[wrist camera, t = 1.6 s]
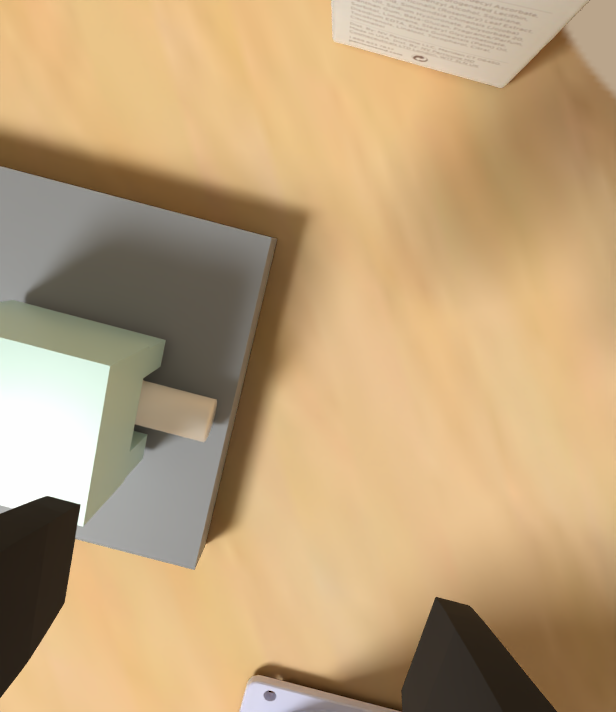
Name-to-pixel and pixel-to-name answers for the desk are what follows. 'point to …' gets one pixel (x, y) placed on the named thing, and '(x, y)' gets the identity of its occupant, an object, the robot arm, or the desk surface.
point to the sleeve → (69, 405)
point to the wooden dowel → (175, 411)
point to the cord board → (150, 317)
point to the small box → (455, 32)
